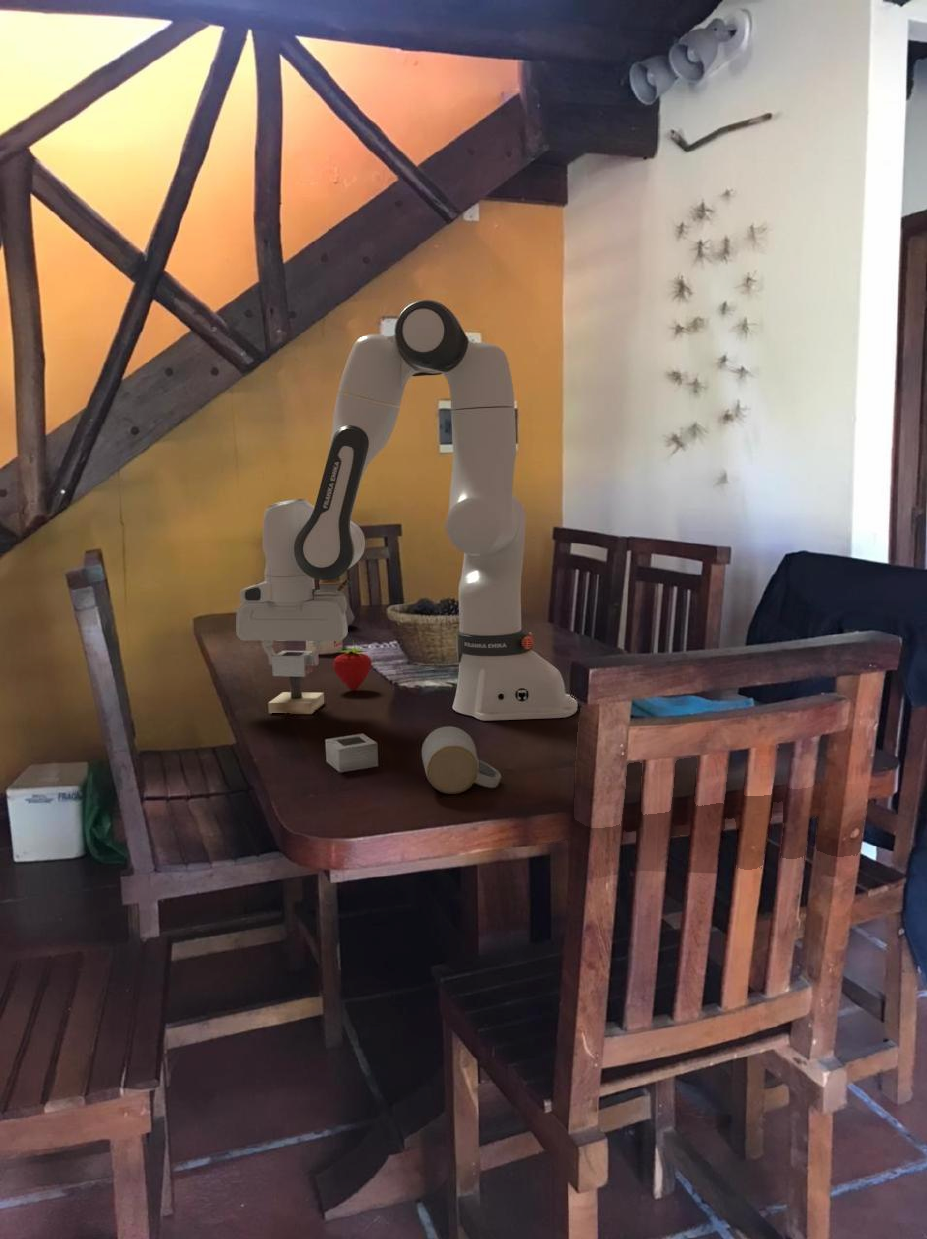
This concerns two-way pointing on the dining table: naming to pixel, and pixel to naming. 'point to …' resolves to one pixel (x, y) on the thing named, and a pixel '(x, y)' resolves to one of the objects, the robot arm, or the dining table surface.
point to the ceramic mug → (455, 762)
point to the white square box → (351, 752)
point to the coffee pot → (338, 586)
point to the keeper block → (296, 700)
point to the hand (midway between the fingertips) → (293, 664)
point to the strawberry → (352, 667)
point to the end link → (292, 663)
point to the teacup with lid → (326, 647)
